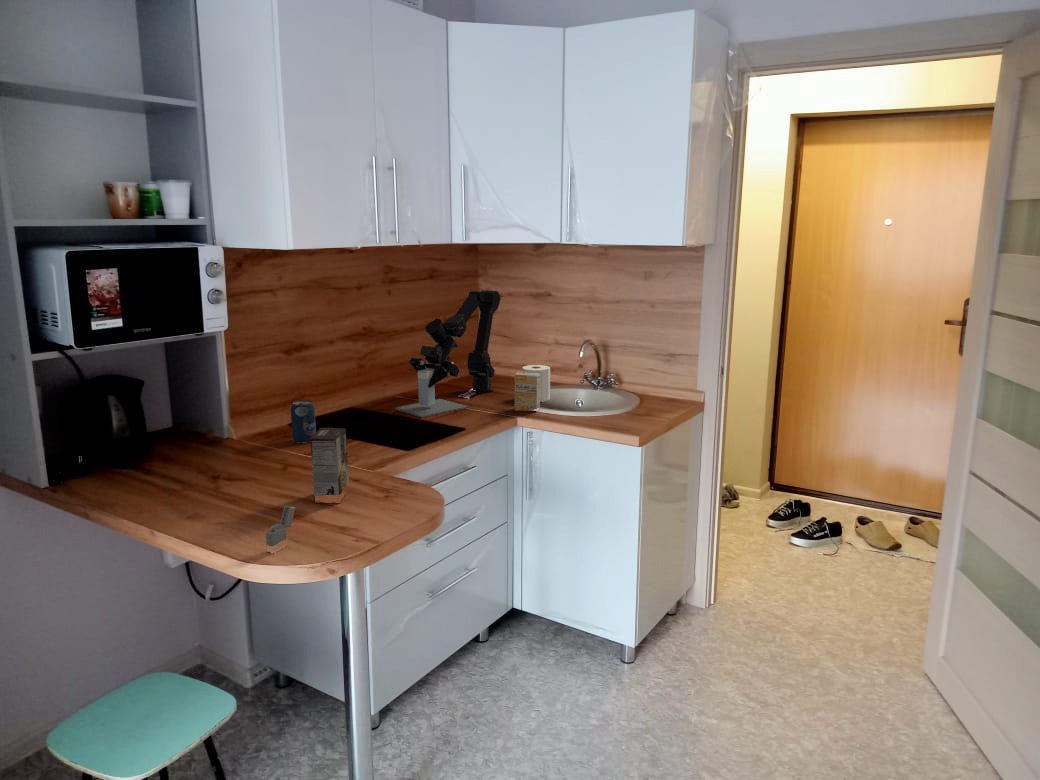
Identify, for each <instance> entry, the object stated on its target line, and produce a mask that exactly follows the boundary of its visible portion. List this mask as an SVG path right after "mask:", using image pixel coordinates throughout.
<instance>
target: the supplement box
mask: <svg viewBox="0 0 1040 780" xmlns="http://www.w3.org/2000/svg"><path fill="white" fill-rule="evenodd" d="M540 375H541V374H535V373H522V371H521V372H520V371H519V372H516V373H515V374H514V411H519V412H520V411H521V412H527V411H526V410H534V409H537V408H539V407H540V408H541V406H540V405H541V402H540Z"/></svg>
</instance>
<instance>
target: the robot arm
mask: <svg viewBox="0 0 1040 780" xmlns="http://www.w3.org/2000/svg"><path fill="white" fill-rule="evenodd" d="M500 302H501V294H499V291H498V290H488V289H487V290H485V289H482V290H471V291H469V293H468V296H467V297H466V299H465V300H464V302H463V303H462V305H461V306H460V307H459V309H458V310H457V311H456V313H455V314H454V315H452V316H450V317H448V318H447V319H446V320H445V321H444V322H442V320H441V318H434V320H432V321H430V322H428V323H427V324H426V326H425V331H426V333H427V334H428V336H429V337H430V338H431V340H432V341H433V342H434V343H436V345H434V346H427V345H421V347H420V352H419V356H422V357H424V359H425V360H426V361H427V362H426V361H425V360H423V359H422V357H416V356H413V357H410V360H409V361H408V364H409V365H410V366H411V367H412V368H413V370H414V371H415V372H417V373H418V371H419V370H423V369H429V370H434V373H433V375H432V377H431V379H430V382H429V384H428V387H429V388H430V387H432V386H433V385H436V384H437V383H439V382H440V381H442V380H444V379H445V378H448V377H449V375H450V377H455V378H456V377H458V375H459V374H460V369H459V368H458V366H457V365H456V363H455V361H451V360H450V359H451V357H450V354H451V352H452V350H453V349H458V347H459V346H458V343H457V340H456V339H454V338H462V337H463V335H464V334H465V332H466V330H467V323H468V321H469V319H470V318H471V316H472V315H473V314H474V312H475V311H476V309H477V308H478V309H479V311H480V313H479V319H478V326H477V333H476V339H475V345H474V349H473V350H472V352H468V355H467V362H466V363H467V365H466V366H467V369H468V375H469V376H470V377H471V376H472V379H473V380H472V389H473V390H476V391H477V392H478V393H479V394H484V393H491V392H494V389H492V388H491V387H492V386H491V385H492V384H491V378H493V377H494V376H495V371H496V370H495V369H494V367H493V366H492V365H491V356H490V354H489V352H488V349H489V344H490V336H491V331H492V324H493V323H492V322H493V318H494V315H495V313H496V311H497V310H498V309H499V306H500ZM477 392H476V393H477Z"/></svg>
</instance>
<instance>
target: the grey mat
mask: <svg viewBox="0 0 1040 780" xmlns="http://www.w3.org/2000/svg"><path fill="white" fill-rule="evenodd" d="M464 408H465V409H468V408H469V406H468V405H464V404H461V403H457V402H453V401H449V400H446V399H442V398H437V399H435V404H432V405H429V406H426V405H419V402H417V403H412V404H407V405H402V406H397V407H395V408H394V409H395V410H397V411H399V412H402V413H406V414H409V415H412V416H415V417H419V418H422V419H423V418H427V417H433V416H437V415H441V413H442V414H445V413H444V412H446V413H450V412H449V411H451V412H455V411H454V410H456V411H460V410H465V409H464ZM436 414H437V415H436Z"/></svg>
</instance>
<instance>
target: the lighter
mask: <svg viewBox="0 0 1040 780" xmlns="http://www.w3.org/2000/svg"><path fill="white" fill-rule="evenodd" d="M295 512H296V507H295V506H292V505H291V506H290V505H284V508H283V511H282V516H281V519H280V523H274V524H273V525H270V529H269V530H268V531H265V542H266V546H267V545H269V546H274V545H276V544H278V543H279V542H281V541H283V540H285V539H287V530H286V529H287V528H291V527H292V523H293V519H294V515H295ZM287 540H288V539H287Z"/></svg>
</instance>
